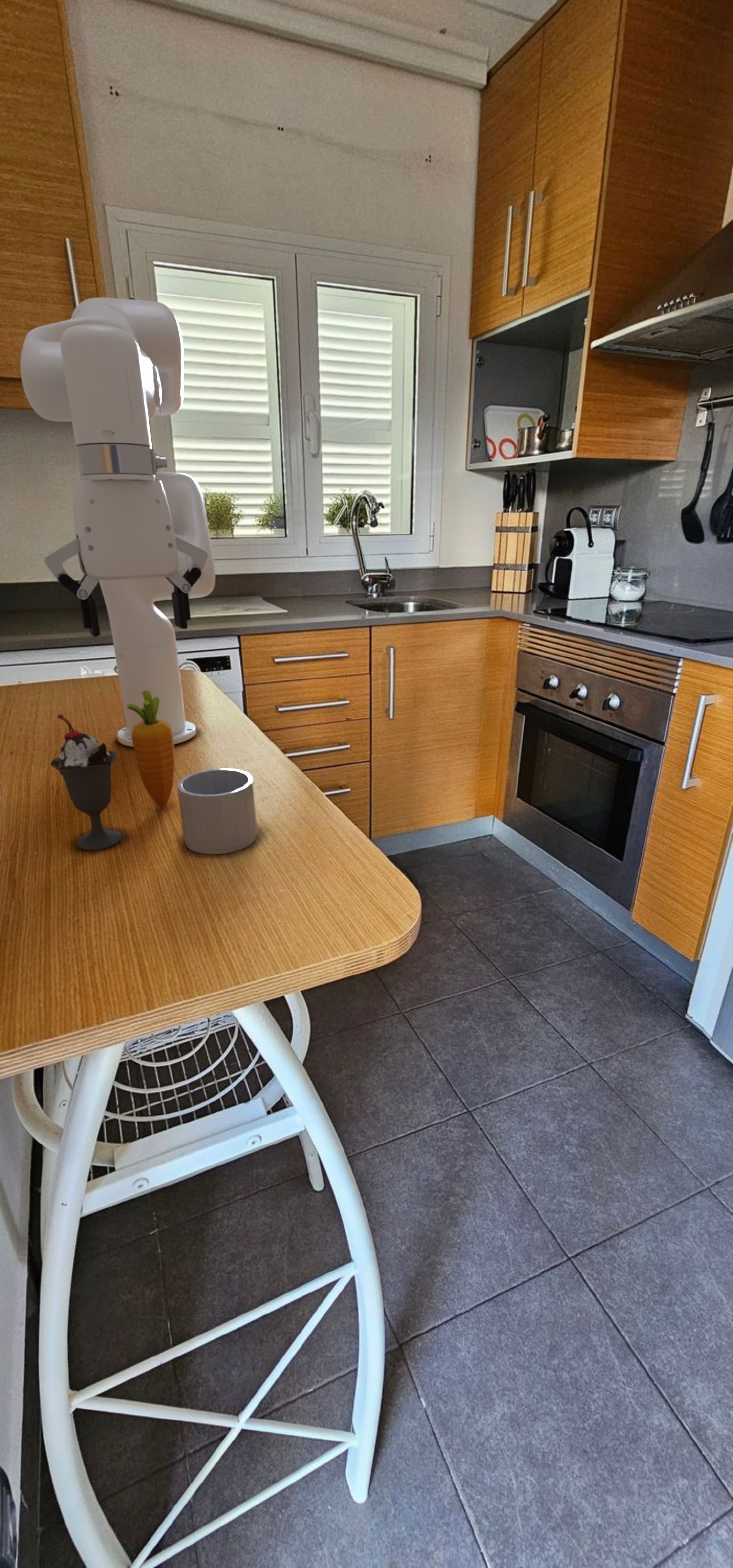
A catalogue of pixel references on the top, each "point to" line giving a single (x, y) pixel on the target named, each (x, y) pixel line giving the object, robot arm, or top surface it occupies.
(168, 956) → the top surface
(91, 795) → the sundae
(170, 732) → the carrot
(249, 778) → the gray cup
